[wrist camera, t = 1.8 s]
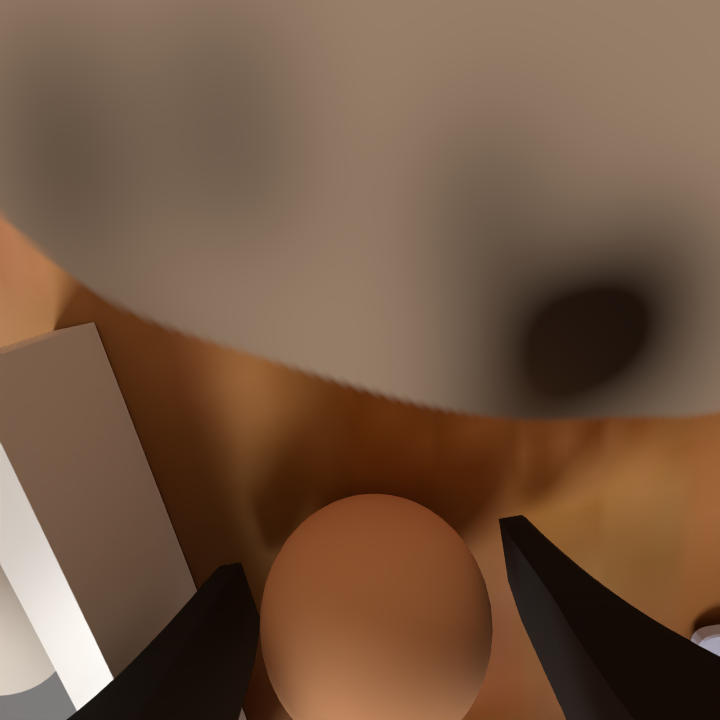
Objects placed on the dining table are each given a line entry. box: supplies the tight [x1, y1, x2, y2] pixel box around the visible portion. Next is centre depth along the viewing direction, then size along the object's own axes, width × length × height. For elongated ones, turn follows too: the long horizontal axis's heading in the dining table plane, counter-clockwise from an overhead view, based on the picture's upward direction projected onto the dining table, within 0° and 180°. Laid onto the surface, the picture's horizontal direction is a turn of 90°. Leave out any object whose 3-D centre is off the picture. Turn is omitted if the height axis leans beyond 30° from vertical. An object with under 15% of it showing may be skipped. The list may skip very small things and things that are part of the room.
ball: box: [260, 494, 492, 720], centre depth 11 cm, size 6×6×6 cm
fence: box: [0, 322, 247, 720], centre depth 12 cm, size 1×16×4 cm, turn 12°
